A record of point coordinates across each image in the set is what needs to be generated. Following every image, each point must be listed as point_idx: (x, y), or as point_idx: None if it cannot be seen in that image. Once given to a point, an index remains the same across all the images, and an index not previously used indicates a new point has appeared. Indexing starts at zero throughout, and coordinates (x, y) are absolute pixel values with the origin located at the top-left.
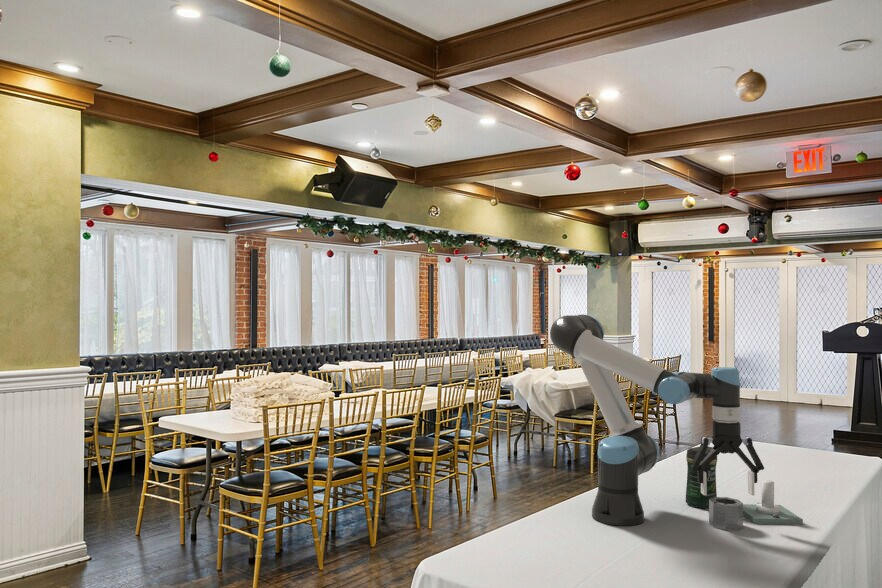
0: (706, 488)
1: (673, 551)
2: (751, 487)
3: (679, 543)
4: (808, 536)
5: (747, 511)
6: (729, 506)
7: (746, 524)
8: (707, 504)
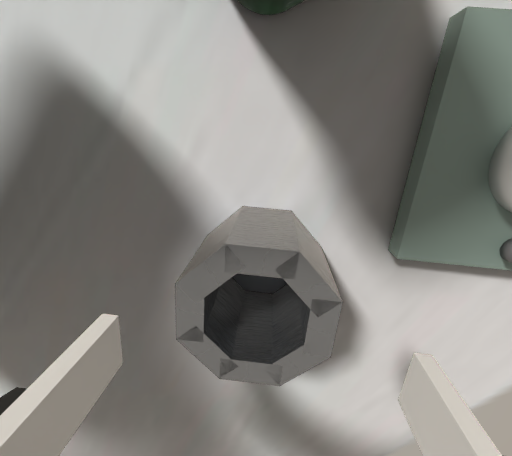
0: (96, 399)
1: None
2: (423, 448)
3: None
4: (487, 373)
5: (439, 158)
6: (239, 377)
7: (350, 255)
8: (293, 2)
